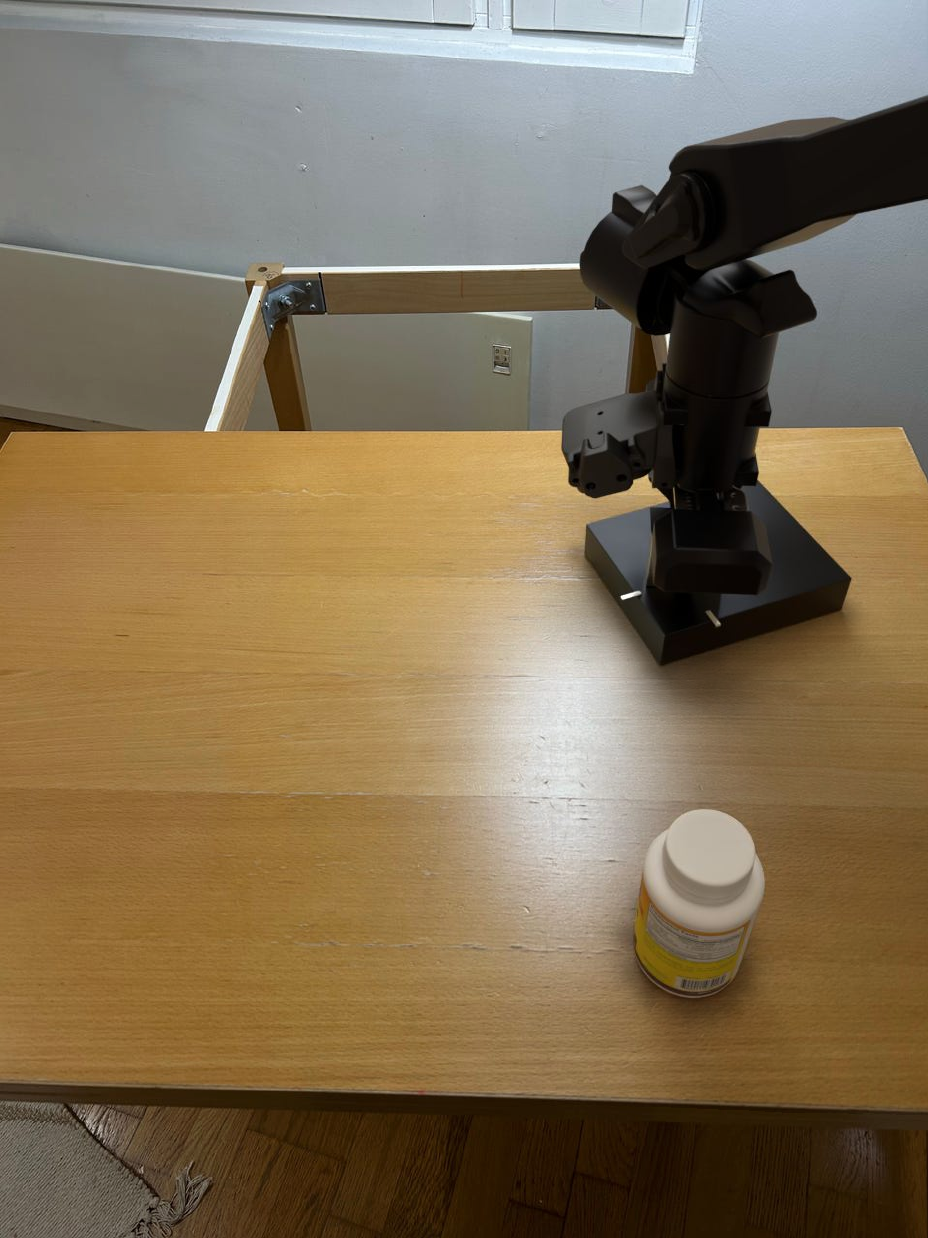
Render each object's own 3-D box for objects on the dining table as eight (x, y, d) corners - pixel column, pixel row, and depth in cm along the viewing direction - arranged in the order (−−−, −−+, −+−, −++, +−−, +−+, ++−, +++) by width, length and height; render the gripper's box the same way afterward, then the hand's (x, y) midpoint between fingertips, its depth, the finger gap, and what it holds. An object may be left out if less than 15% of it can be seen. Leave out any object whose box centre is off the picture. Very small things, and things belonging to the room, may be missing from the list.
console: (847, 615, 68) (858, 582, 65) (649, 677, 64) (654, 644, 62) (749, 508, 76) (756, 475, 74) (570, 558, 73) (571, 525, 71)
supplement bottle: (675, 882, 54) (699, 772, 47) (761, 951, 51) (800, 845, 44) (608, 950, 51) (622, 844, 44) (694, 1026, 48) (724, 927, 41)
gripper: (575, 289, 62) (567, 486, 73) (568, 468, 49) (559, 674, 60) (756, 290, 61) (720, 490, 72) (797, 474, 48) (745, 683, 59)
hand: (684, 575), depth 66 cm, fingers closed, pressing on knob
